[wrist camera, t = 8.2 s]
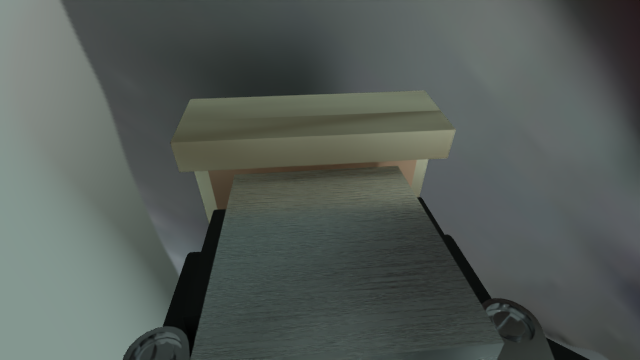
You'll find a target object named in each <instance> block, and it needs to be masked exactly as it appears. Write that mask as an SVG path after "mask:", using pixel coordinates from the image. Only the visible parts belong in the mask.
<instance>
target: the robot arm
mask: <svg viewBox="0 0 640 360" xmlns="http://www.w3.org/2000/svg"><path fill="white" fill-rule="evenodd" d="M417 199H418V200H419V202H420V204H421V205H422V207H423V208H424V210H425V212H426V213H427V215H428V217H429V218H430V220H431V222H432V223H433V225H434V227H435V228H436V230H437V232H438V233H439V235H440V237H441V238H442V240H443V242H444V243H445V245H446V247H447V248H448V250H449V252H450V253H451V255H452V257H453V258H454V260H455V262H456V263H457V265H458V267H459V268H460V270H461V272H462V273H463V275H464V277H465V278H466V280H467V282H468V283H469V285H470V287H471V288H472V290H473V292H474V293H475V295H476V297H477V298H478V300H479V302H480V303H481V305H482V307H483V308H484V310H485V312H486V313H487V315H488V317H489V318H490V320H491V322H492V323H493V325H494V327H495V328H496V330H497V332H498V333H499V335H500V337H501V338H502V340H503V342H504V345H503V347H502V350H501V352H500V354H499V356H498V359H497V360H589V359H587V358H585V357H583V356H581V355H579V354H577V353H575V352H573V351H571V350H569V349H567V348H565V347H563V346H562V345H560V344H558V343H555V342H554V341H552V340H550V339H548V338H546V337H545V334H544V332H543V329H542V327H541V325H540V323H539V322H538V320H537V318H536V317H535V316H534V315H533V314H532V313H531V312H530V311H529V310H527V309H526V308H524V307H523V306H521V305H519V304H517V303H515V302H513V301H510V300H506V299H497V298H494V299H491V297H490V295H489V294H488V292H487V291H486V289H485V288H484V286H483V285H482V283H481V281H480V280H479V278H478V277H477V275H476V274H475V272H474V271H473V269H472V267H471V266H470V264H469V263H468V261H467V260H466V258H465V257H464V255H463V253H462V252H461V250H460V249H459V247H458V246H457V244H456V243H455V241H454V239H453V238H452V237H451V236H450V235H444V233H443V231H442V230H441V228H440V227H439V225H438V223H437V222H436V220H435V219H434V217H433V215H432V214H431V212H430V211H429V209H428V207H427V206H426V204H425V202H424V201H423V199H422V198H421V197H417ZM225 213H226V209H217V210H214V211H213V214H212V217H211V220H210V224H209V227H208V231H207V234H206V237H205V241H204V244H203V248H202V251H201V252H190V253H189V254H188V255H187V257H186V260H185V263H184V265H183V268H182V271H181V274H180V277H179V280H178V283H177V286H176V289H175V292H174V295H173V298H172V301H171V304H170V307H169V309H168V313H167V315H166V319H165V322H164V324H163V327H160V328H155V329H153V330H151V331H148V332H146V333H145V334H143V335H142V336H140V337H139V338H138V339H136V340H135V341H134V342H133V343H132V344H131V345H130V346H129V348H128V350H127V351H126V353H125V355H124V357H123V360H190V359H191V355H192V351H193V346H194V342H195V338H196V334H197V330H198V326H199V321H200V317H201V313H202V309H203V305H204V301H205V296H206V292H207V288H208V284H209V280H210V276H211V271H212V267H213V263H214V259H215V255H216V251H217V246H218V242H219V238H220V234H221V230H222V225H223V221H224V217H225Z"/></svg>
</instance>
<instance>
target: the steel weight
mask: <svg viewBox="0 0 640 360" xmlns="http://www.w3.org/2000/svg"><path fill="white" fill-rule="evenodd" d="M503 345H504V342H503V340H502V338H501V337H500V335H499V333H498V332H497V330H496V328H495V327H494V325H493V323H492V322H491V320H490V318H489V317H488V315H487V313H486V312H485V310H484V308H483V307H482V305H481V303H480V302H479V300H478V298H477V297H476V295H475V293H474V292H473V290H472V288H471V287H470V285H469V283H468V282H467V280H466V278H465V277H464V275H463V273H462V272H461V270H460V268H459V267H458V265H457V263H456V262H455V260H454V258H453V257H452V255H451V253H450V252H449V250H448V248H447V247H446V245H445V243H444V242H443V240H442V238H441V237H440V235H439V233H438V232H437V230H436V228H435V227H434V225H433V223H432V222H431V220H430V218H429V217H428V215H427V213H426V212H425V210H424V208H423V207H422V205H421V204H420V202H419V200H418V199H417V197H416V195H415V194H414V192H413V190H412V189H411V187H410V185H409V184H408V182H407V180H406V179H405V177H404V175H403V174H402V172H401V170H400V169H399V167H398V166H385V167H366V168H347V169H328V170H310V171H291V172H272V173H254V174H235V175H234V180H233V184H232V188H231V192H230V196H229V200H228V205H227V209H226V213H225V217H224V221H223V225H222V230H221V234H220V238H219V242H218V246H217V251H216V255H215V259H214V263H213V267H212V271H211V276H210V280H209V284H208V288H207V292H206V296H205V301H204V305H203V309H202V313H201V317H200V321H199V326H198V330H197V334H196V338H195V342H194V346H193V351H192V355H191V359H190V360H497V359H498V356H499V354H500V352H501V350H502V347H503Z"/></svg>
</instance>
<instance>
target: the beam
mask: <svg viewBox="0 0 640 360" xmlns="http://www.w3.org/2000/svg"><path fill="white" fill-rule="evenodd" d="M455 130H456V129H455V128H454V127H453V126H452V124H451V123H450V122H449V121H448V119H447V118H446V117H445V116H444V114H443V113H442V112H441V111H440V109H439V108H438V107H437V105H436V104H435V103H434V102H433V100H432V99H431V98H430V97H429V95H428V94H427V93H426V92H425V91H399V92H372V93H345V94H318V95H291V96H264V97H237V98H210V99H190V101H189V103H188V105H187V107H186V110H185V112H184V114H183V116H182V118H181V121H180V123H179V125H178V127H177V129H176V131H175V134H174V136H173V138H172V140H171V142H170V144H171V147H172V150H173V153H174V156H175V159H176V163H177V166H178V169H179V172H195V176H196V179H197V183H198V186H199V190H200V193H201V197H202V200H203V204H204V207H205V211H206V215H207V218H208V222H209V224H210V220H211V217H212V214H213V211H214V210H217V209H227V205H228V200H229V196H230V192H231V188H232V184H233V180H234V175H235V174H254V173H272V172H291V171H310V170H328V169H347V168H366V167H385V166H398V167H399V169H400V170H401V172H402V174H403V175H404V177H405V179H406V180H407V182H408V184H409V185H410V187H411V189H412V190H413V192H414V194H415V195H416V197H419V196H420V192H421V188H422V184H423V179H424V175H425V171H426V167H427V163H428V159H441V158H448V155H449V151H450V148H451V144H452V141H453V137H454V134H455Z"/></svg>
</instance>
